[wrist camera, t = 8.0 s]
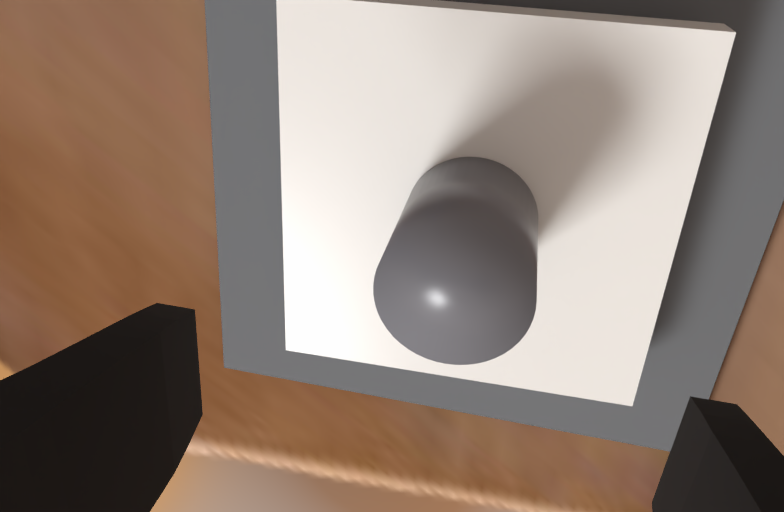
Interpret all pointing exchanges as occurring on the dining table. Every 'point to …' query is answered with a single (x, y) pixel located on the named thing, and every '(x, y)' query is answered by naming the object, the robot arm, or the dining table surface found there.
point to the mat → (553, 411)
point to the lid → (488, 185)
